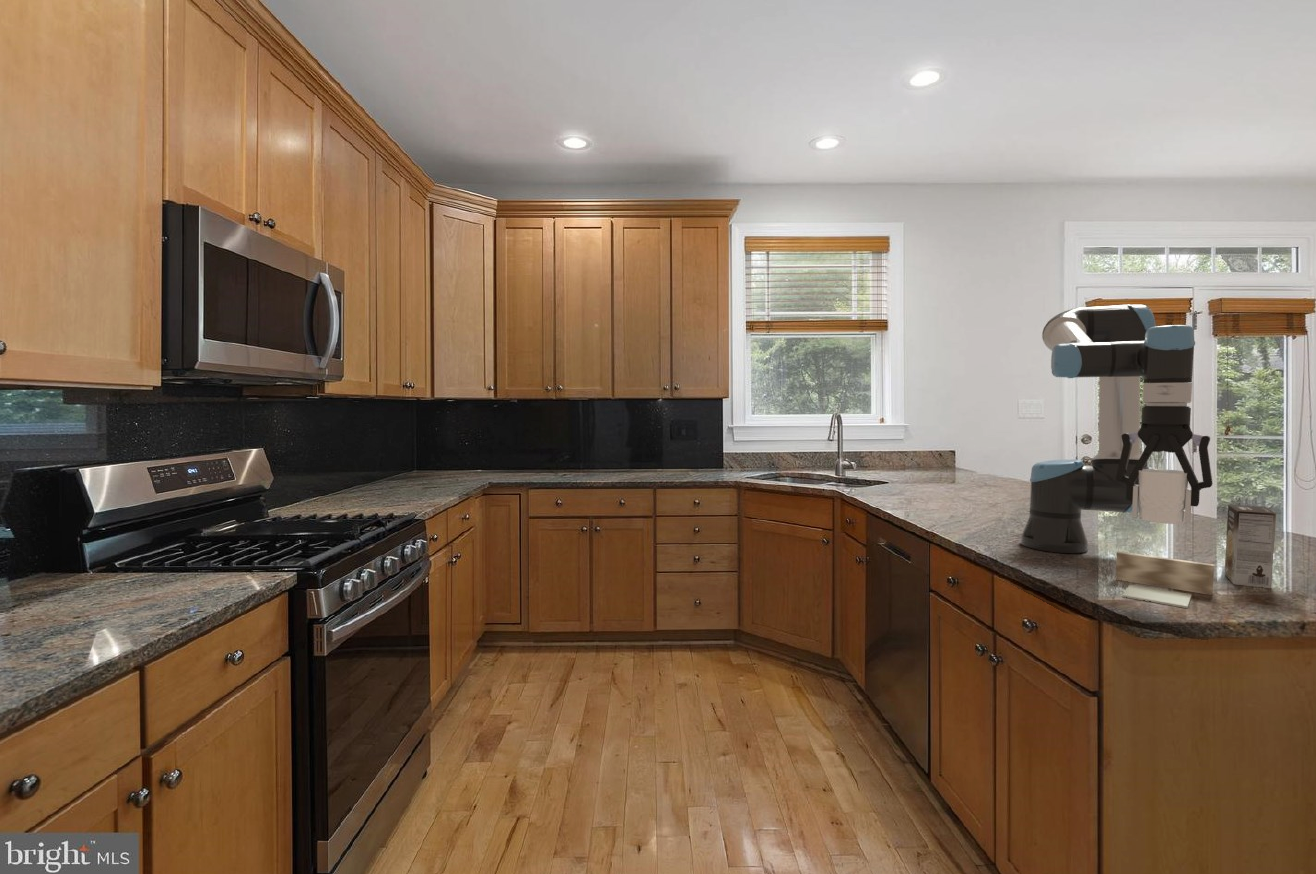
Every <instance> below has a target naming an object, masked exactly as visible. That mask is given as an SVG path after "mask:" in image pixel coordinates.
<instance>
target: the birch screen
mask: <svg viewBox="0 0 1316 874" xmlns="http://www.w3.org/2000/svg"><path fill="white" fill-rule="evenodd" d="M1115 560H1116V561H1115V579H1117V581H1121V580H1122V581H1123V582H1127V581H1128V583H1129V582H1130V583H1134V584H1139V585H1140V584H1141V585H1148V586H1154V587H1159V588H1160V587H1161V588H1165V589H1172V590H1178V591H1185V592H1191V593H1197V594H1203V595H1209V596H1213V594H1214V593H1213V592H1214V575H1215V564H1214V563H1213V564H1212V563H1205V562H1199V561H1192V560H1185V559H1183V560H1182V559H1176V558H1168V557H1163V556H1162V557H1160V556H1154V555H1147V554H1146V555H1145V554H1139V553H1133V552H1132V553H1131V552H1124V551H1117V552H1116V557H1115Z"/></svg>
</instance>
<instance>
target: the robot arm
mask: <svg viewBox="0 0 1316 874" xmlns="http://www.w3.org/2000/svg"><path fill="white" fill-rule="evenodd" d="M1194 330H1195V329H1194V328H1193V326H1190V325H1187V324H1184V325H1183V324H1174V325H1173V324H1172V325H1171V324H1170V325H1160V326H1159V325H1158V326H1157V324H1156V319H1155V316H1154V313H1153V311H1152V310H1151V308H1150V307H1149V306H1147V305H1146V304H1145V305H1144V304H1128V303H1127V304H1119V305H1117V304H1116V305H1104V306H1103V305H1102V306H1088V307H1087V306H1081V307H1075V308H1070V309H1067V310H1065V311H1063V312H1060V313H1058V314H1056V315H1055V316H1053V317H1052V318H1050V319H1049V320H1048V321H1047V323H1046V324H1045V325H1044V327H1043V330H1042V335H1041V336H1042V341H1043V343H1044V345H1045V347H1047V349H1049V350H1050V351H1051V359H1050V367H1051V368H1050V369H1051V374H1052V376H1054V377H1055V378H1067V379H1075V378H1099V385H1098V386H1099V389H1098V390H1099V392H1098V393H1099V394H1098V396H1099V403H1098V406H1099V408H1098V453H1097V454H1096V455H1095V456H1093V458H1092V459H1091V465H1084V464H1085V463H1084V462H1083V460H1082V459H1077V458H1076V459H1075V458H1074V459H1056V460H1055V459H1054V460H1047V461H1046V460H1045V461H1040V462H1036V463H1035V464H1033V465H1032V467H1031V472H1030V473H1031V474H1030V479H1029V482H1030V495H1029V513H1028V514H1029V516H1028V518H1027V521H1026V524H1025V526H1024V528H1023V530H1022V533H1021V538H1020V544H1021V545H1022V546H1024V547H1026V548H1029V549H1033V550H1038V551H1041V552H1042V551H1043V552H1051V553H1060V554H1081V553H1086V552H1087V551H1088V550H1089V549H1088V548H1089V543H1088V539H1087V536H1086V532H1085V530H1084V526H1083V523H1082V519H1081V518H1082V510H1083V511H1099V512H1111V513H1112V512H1114V513H1115V512H1116V513H1123V514H1126V513H1131V518H1132V519H1137V518H1139V515H1140V505H1139V493H1138V475H1139V470H1141V471H1142V470H1143V469H1154V468H1153V467H1151V466H1148V461H1149V459H1150V458H1151V456H1152V454H1153V452H1154V453H1158V452H1159V453H1161V452H1166V453H1170V454H1171V453H1174V454H1175V456H1176V458H1177V460H1178V462H1179V465H1180V467H1181V469H1182V471H1184V473H1187V480H1188V485H1189V486H1190V488H1187V490H1186V502H1185V510H1184V521H1183V522H1184V524H1189V525H1190V524H1191V521H1192V507H1197V508H1198V506H1199V504H1200V491H1201V490H1202V489H1207V488H1208V489H1209V488H1212V486H1213V476H1212V470H1211V462H1210V456H1209V455H1210V454H1209V445H1210V441H1211V436H1209V435H1207V434H1206V435H1202V434H1197V433H1193V431H1192V430H1191V416H1192V415H1191V414H1192V413H1191V411H1192V410H1191V409H1192V408H1191V407H1190V406H1188V404H1191V403H1192V395H1193V394H1192V393H1193V392H1192V391H1193V372H1194V371H1193V370H1194V354H1195V353H1194V351H1195V345H1196V341H1195V331H1194ZM1141 377H1142V378H1143V381H1142V382H1143V383H1142V399H1141ZM1141 400H1142V401H1141ZM1141 403H1143V404H1145V405H1144V406H1143V407H1142V408H1141ZM1191 440H1192V441H1194V445H1195V446H1197V447H1198V455H1199V462H1200V463H1199V464H1200V469H1201V477H1202V481H1199V480H1198V478H1197V476H1196V474H1195V472H1194V471H1195V470H1194V469H1193V467H1192V465H1191V463H1190V461H1189V459H1188V457H1187V454H1186V451H1185V450H1184V448H1183V447H1184V446H1186V445H1187V443H1189V441H1191ZM1141 441H1142V443H1143V444H1144V445H1145V448H1144V449H1143V452H1142V454H1141Z"/></svg>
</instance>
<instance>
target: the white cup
mask: <svg viewBox="0 0 1316 874" xmlns="http://www.w3.org/2000/svg"><path fill="white" fill-rule="evenodd" d="M1187 489H1189V482H1188V480H1187V473H1184V471H1183V470H1178V469H1176V470H1175V469H1165V468H1163V469H1162V468H1153V469H1143V470H1142V471H1141V470H1139V475H1138V493H1139V505H1140V513H1139V519H1140V520H1142V521H1145V522H1148V523H1156V524H1168V525H1169V524H1170V525H1171V524H1173V525H1177V524H1182V523H1183V522H1184V519H1185V502H1186V490H1187Z"/></svg>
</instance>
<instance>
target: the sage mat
mask: <svg viewBox="0 0 1316 874" xmlns="http://www.w3.org/2000/svg"><path fill="white" fill-rule="evenodd" d="M1192 594H1193V593H1186V592H1185V593H1184V592H1181V591H1180V592H1179V591H1175V590H1169V589H1161V588H1156V587H1148V586H1144V585H1143V586H1142V585H1138V584H1132V583H1131V584H1129V585H1128V586H1127V587H1126V589H1125V591H1124V592H1123V594H1122V596H1123V597H1122V598H1126V597H1127V598H1126V599H1133V600H1139V601H1143V600H1145V601H1144V602H1149V601H1151V602H1150V603H1155V604H1162V605H1167V606H1171V607H1172V606H1173V607H1176V608H1177V607H1178V608H1184V609H1188V608H1189V605H1190V601H1191V598H1192V596H1193V595H1192Z"/></svg>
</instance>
